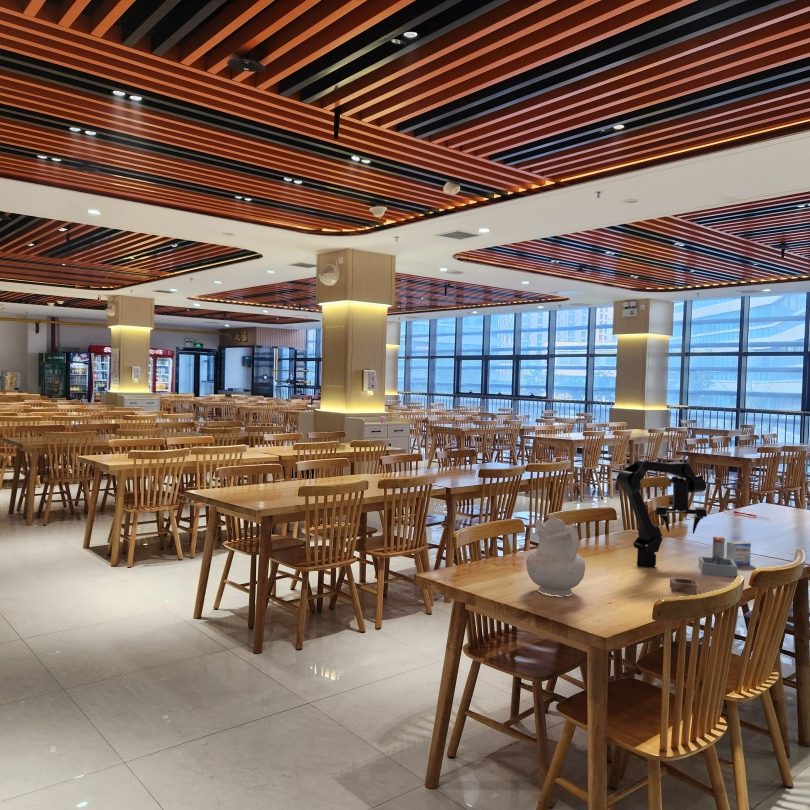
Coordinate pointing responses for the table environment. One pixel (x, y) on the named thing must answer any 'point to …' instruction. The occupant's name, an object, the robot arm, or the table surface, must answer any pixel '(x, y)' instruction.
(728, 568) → the tray
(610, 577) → the table surface
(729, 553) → the medicine box
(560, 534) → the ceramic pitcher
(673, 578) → the socket block
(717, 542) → the pin
